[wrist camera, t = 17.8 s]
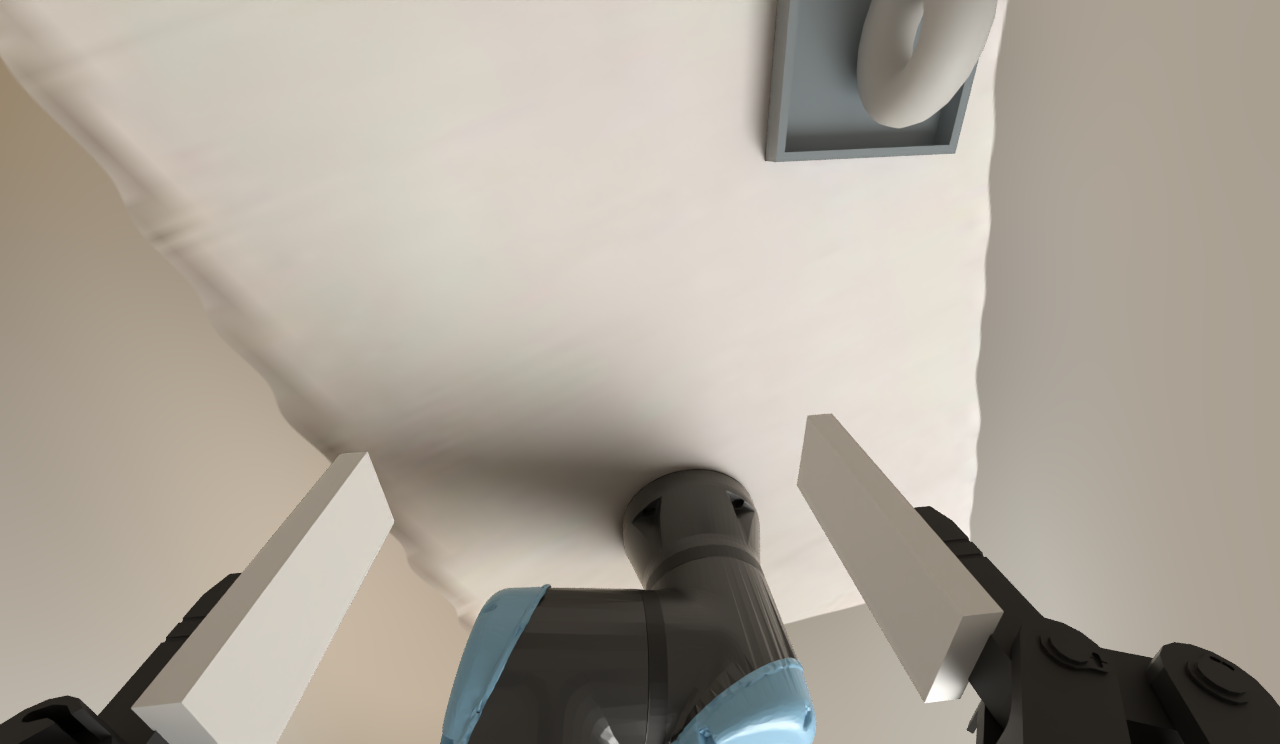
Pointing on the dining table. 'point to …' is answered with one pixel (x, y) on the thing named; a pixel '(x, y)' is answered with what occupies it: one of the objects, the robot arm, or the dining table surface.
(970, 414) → the dining table surface
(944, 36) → the donut
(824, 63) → the tray
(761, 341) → the dining table surface
